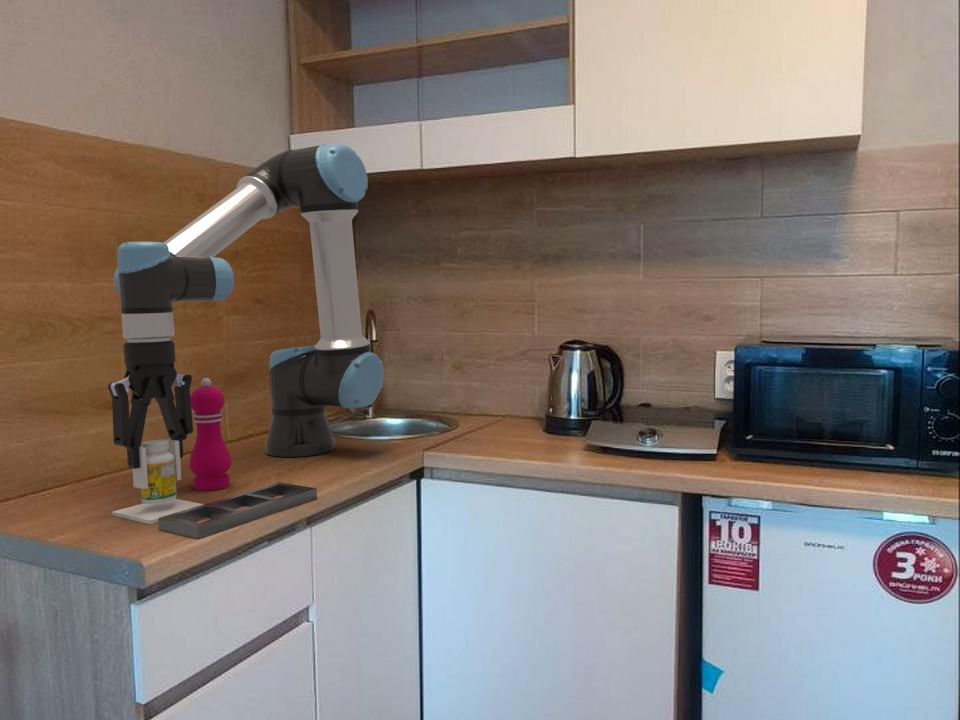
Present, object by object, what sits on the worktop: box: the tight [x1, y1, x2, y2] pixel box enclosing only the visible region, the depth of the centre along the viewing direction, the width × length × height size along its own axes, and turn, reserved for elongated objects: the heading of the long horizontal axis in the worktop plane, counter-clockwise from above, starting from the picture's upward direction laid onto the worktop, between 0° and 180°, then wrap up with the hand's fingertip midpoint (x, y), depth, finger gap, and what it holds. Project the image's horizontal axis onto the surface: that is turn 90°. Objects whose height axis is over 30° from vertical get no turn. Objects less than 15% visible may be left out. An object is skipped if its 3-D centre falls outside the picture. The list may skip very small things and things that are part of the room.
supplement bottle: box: [139, 439, 178, 504], centre depth 124 cm, size 5×5×10 cm
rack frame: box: [157, 481, 318, 540], centre depth 122 cm, size 24×9×2 cm, turn 148°
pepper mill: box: [189, 377, 232, 492], centre depth 139 cm, size 7×7×20 cm
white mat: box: [111, 498, 204, 525], centre depth 124 cm, size 10×10×1 cm
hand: (157, 482), depth 124 cm, fingers closed on supplement bottle, 5 cm apart
